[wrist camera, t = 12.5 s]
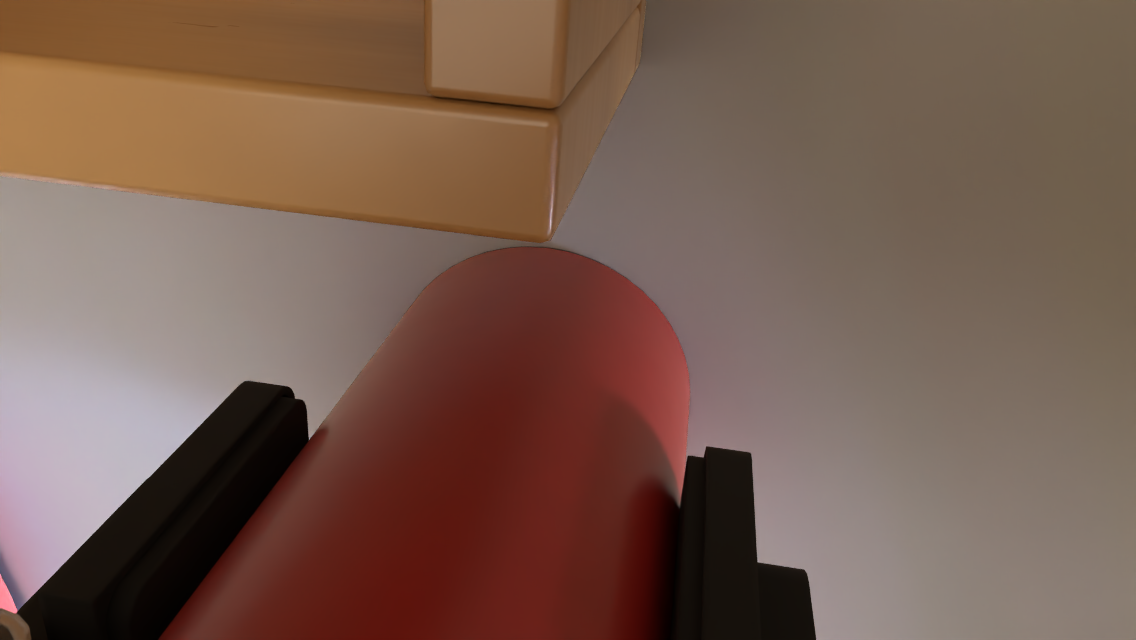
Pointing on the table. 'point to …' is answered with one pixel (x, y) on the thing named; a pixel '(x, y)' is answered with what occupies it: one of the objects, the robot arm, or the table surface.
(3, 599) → the ink cartridge box
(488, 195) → the tea box
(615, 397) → the tea tin
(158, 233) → the table surface
